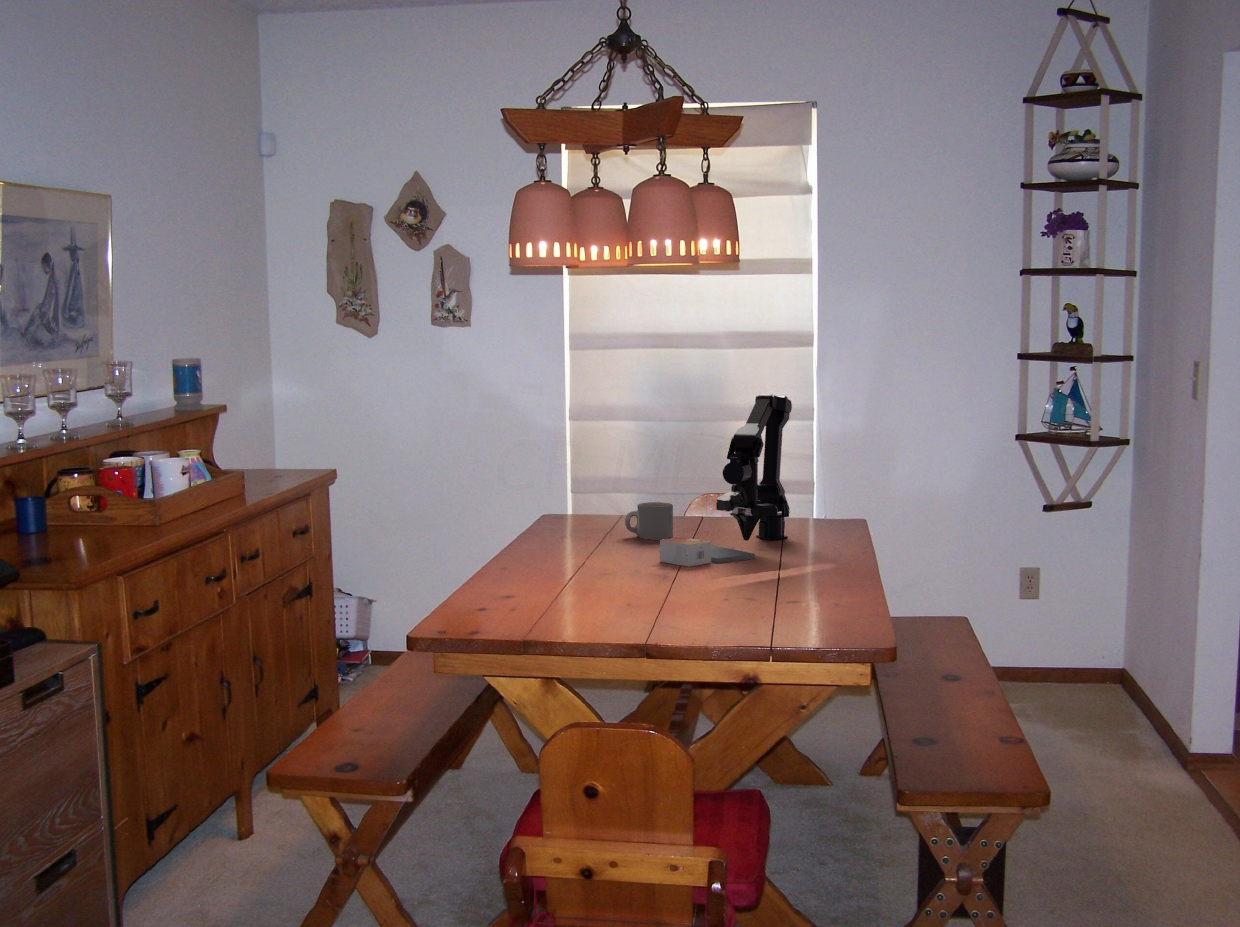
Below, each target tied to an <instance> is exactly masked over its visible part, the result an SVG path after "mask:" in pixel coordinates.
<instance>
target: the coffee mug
mask: <svg viewBox="0 0 1240 927" xmlns="http://www.w3.org/2000/svg"><path fill="white" fill-rule="evenodd" d="M636 509H637V510H631V511H629V512H627V514H626V515H625V518H624V525H625V528H626V530H628V531H629V532H631V533H633V534H635V535H636V536H637V538H638V537H640V538H639V539H641V538H644V539H643V540H647V539H652V540H651V541H660V540H662V539H669V538H670V539H671V538H674V504H673V503H672V502H671V503H670V502H660V501H659V502H658V501H657V502H656V501H655V502H654V501H652V502H650V501H649V502H640V503H637V508H636ZM632 517H636V524H635V526H632V525H631V524H630V523H631V518H632Z"/></svg>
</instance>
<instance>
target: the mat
mask: <svg viewBox="0 0 1240 927" xmlns="http://www.w3.org/2000/svg"><path fill="white" fill-rule="evenodd" d="M755 558H756V555H755V553H754V552H753V553H752V552H749V551H743V550H738V549H734V548H729V547H724V546H719V545H715V544H711V563H714V564H722V563H723V564H724V563H729V562H731V563H732V562H736V561H745V560H747V561H748V560H753V559H755Z"/></svg>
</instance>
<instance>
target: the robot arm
mask: <svg viewBox="0 0 1240 927" xmlns="http://www.w3.org/2000/svg"><path fill="white" fill-rule="evenodd" d="M754 400H755V402H754V405H753V408H752V409H751V411H750V414H749V416H748V417H747V420H746V422H745V424H744V425H743V426H741V427H740V428H738V429H737V430H736V431H735V433H734V434H733V436H732V437H731V439H730V444H729V446H728V451H727V454H726V455H727V456H726V460H729V462H728V463H727V464H726V465H724V467H723V469H722V477H723V479H724V481H726V483H727V484H730V485H731V489H730V491H727V492H725V493H724V494H722V495H720V496H718V497H717V498H716V510H717V511H719V512H720V511H722V512H724V511H725V512H730V513H729V515H730V516H732V517H733V518H734V519H735V520H736V521H737V524H738V527H739V529H740V533H741V536H742V539H743V541H746V542H747V541H749V540H750V539H751V537H752V535H753V532H754V531H755V528H756V526H757V525H758V534H757V535H755V537H756V538H759V539H763V540H771V541H772V540H774V541H775V540H782V539H788V538H789V536H788V535H785V518H789V517H790V506H789V502H788V499H787V497H786V492H785V487H784V486H783V485H782V482H781V481H780V477H781V463H782V462H781V461H782V445H783V429H784V427H785V426H786V424H788V422H789V420H790V414H791V413H792V408H793V405H792V404H793V403H792V400H791V399H789V398H788V397H787V395H775V394H771V393H770V394H769V393H764V394H763V393H762V394H761V393H760V394H759V393H758V394H757V395H756V396H755V399H754ZM764 430H765V431H764ZM763 431H764V432H765V435H764V441H763V438H762V433H763ZM763 448H764V451H763ZM762 451H763V469H762V480H761V481H760V482H759V483H758V478H759V476H758V474H759V473H758V471H759V470H758V466H759V462H760V460H759V458H760V457H761V455H762Z"/></svg>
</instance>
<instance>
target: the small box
mask: <svg viewBox="0 0 1240 927" xmlns="http://www.w3.org/2000/svg"><path fill="white" fill-rule="evenodd" d="M711 545H712V541H710V540H703V539H696V538H692V537H684V536H677V537H672V538H670V539H664V540H659V562H660V563H664V564H665V563H666V564H671V565H676V566H683V567H696V566H700V565H701V566H702V565H706V564H707V565H708V564H712V562H711Z"/></svg>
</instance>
